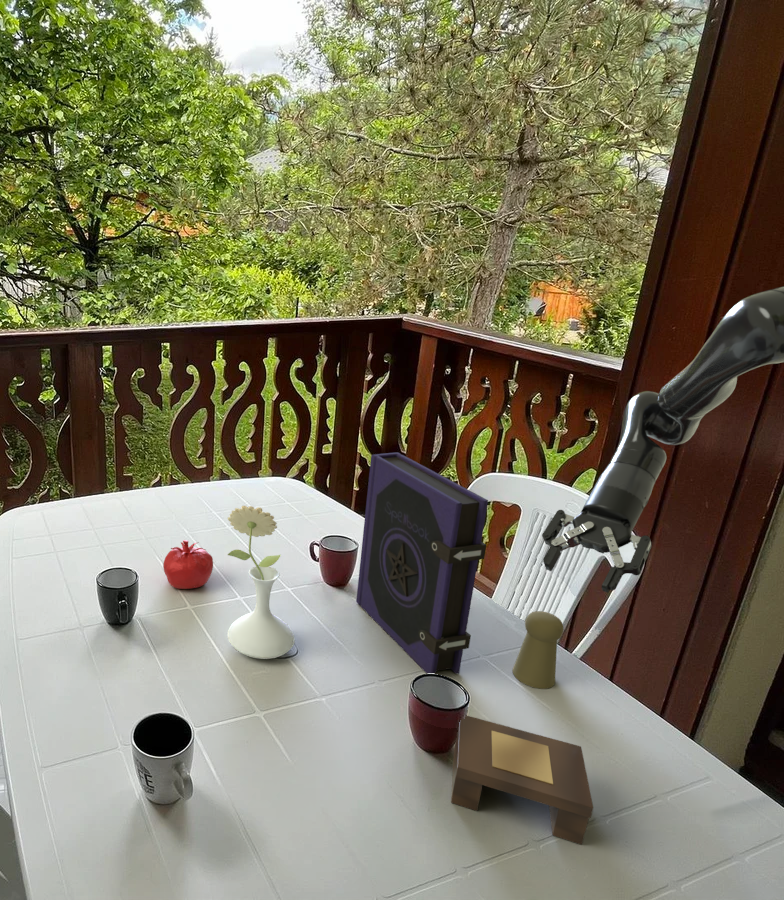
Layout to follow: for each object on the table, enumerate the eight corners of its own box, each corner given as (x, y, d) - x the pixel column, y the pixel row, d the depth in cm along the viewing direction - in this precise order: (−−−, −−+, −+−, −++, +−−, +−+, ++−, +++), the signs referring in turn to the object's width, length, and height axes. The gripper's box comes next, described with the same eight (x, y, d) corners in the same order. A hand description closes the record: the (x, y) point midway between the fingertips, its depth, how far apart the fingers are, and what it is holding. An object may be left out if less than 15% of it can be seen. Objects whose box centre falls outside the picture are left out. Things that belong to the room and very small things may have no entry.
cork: (554, 693, 97) (568, 632, 94) (510, 680, 100) (523, 620, 97) (555, 671, 102) (568, 612, 99) (513, 660, 105) (525, 601, 102)
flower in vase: (305, 641, 110) (315, 507, 102) (273, 674, 101) (281, 532, 93) (241, 615, 117) (246, 489, 110) (206, 645, 109) (208, 510, 101)
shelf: (571, 784, 81) (581, 745, 79) (582, 848, 72) (593, 807, 70) (453, 749, 86) (460, 712, 85) (450, 806, 78) (457, 766, 76)
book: (354, 602, 122) (369, 454, 112) (383, 598, 123) (400, 451, 114) (430, 680, 100) (456, 505, 91) (464, 674, 102) (493, 501, 92)
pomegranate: (213, 595, 124) (214, 552, 121) (161, 594, 124) (161, 551, 121) (212, 570, 133) (213, 530, 130) (164, 569, 134) (164, 529, 131)
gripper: (569, 473, 108) (525, 552, 105) (668, 498, 97) (622, 587, 94) (576, 495, 113) (534, 571, 110) (671, 521, 102) (628, 607, 99)
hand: (575, 579), depth 102 cm, fingers open, 8 cm apart
